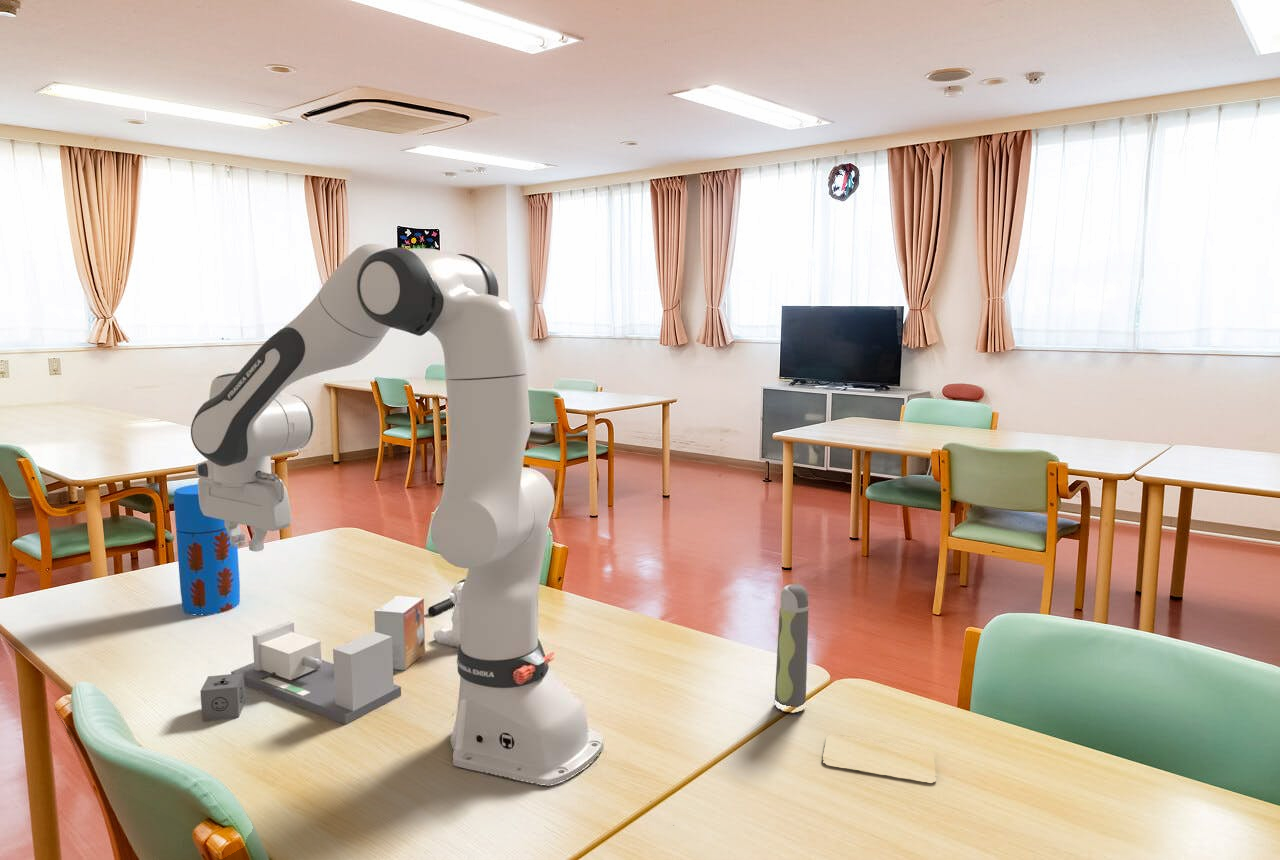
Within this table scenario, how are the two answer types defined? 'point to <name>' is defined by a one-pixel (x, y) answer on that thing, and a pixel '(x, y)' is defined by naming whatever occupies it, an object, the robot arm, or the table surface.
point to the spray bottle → (792, 647)
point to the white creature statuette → (446, 634)
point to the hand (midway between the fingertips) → (247, 548)
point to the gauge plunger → (285, 652)
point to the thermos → (204, 558)
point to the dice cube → (222, 697)
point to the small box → (403, 628)
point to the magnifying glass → (441, 606)
